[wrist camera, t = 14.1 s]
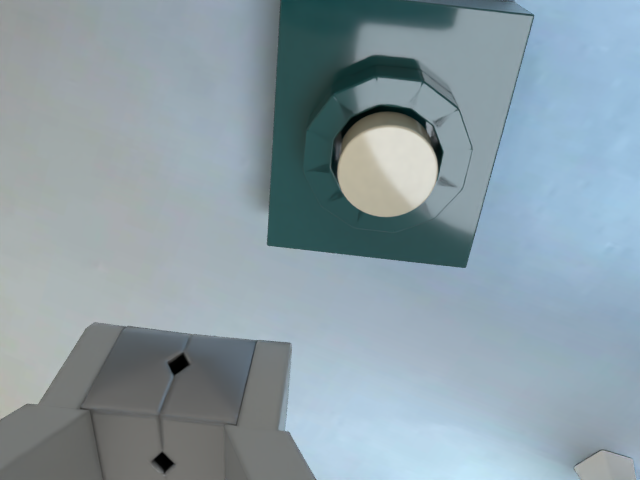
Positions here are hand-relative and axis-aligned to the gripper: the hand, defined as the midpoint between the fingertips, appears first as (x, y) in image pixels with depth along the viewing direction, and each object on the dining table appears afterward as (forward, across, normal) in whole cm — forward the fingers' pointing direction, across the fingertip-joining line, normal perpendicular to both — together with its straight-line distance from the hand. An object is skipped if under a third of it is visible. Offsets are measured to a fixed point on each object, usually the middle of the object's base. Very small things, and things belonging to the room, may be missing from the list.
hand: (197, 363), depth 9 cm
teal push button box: (+21, -4, +3) cm, 22 cm away
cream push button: (+16, -4, +3) cm, 17 cm away
